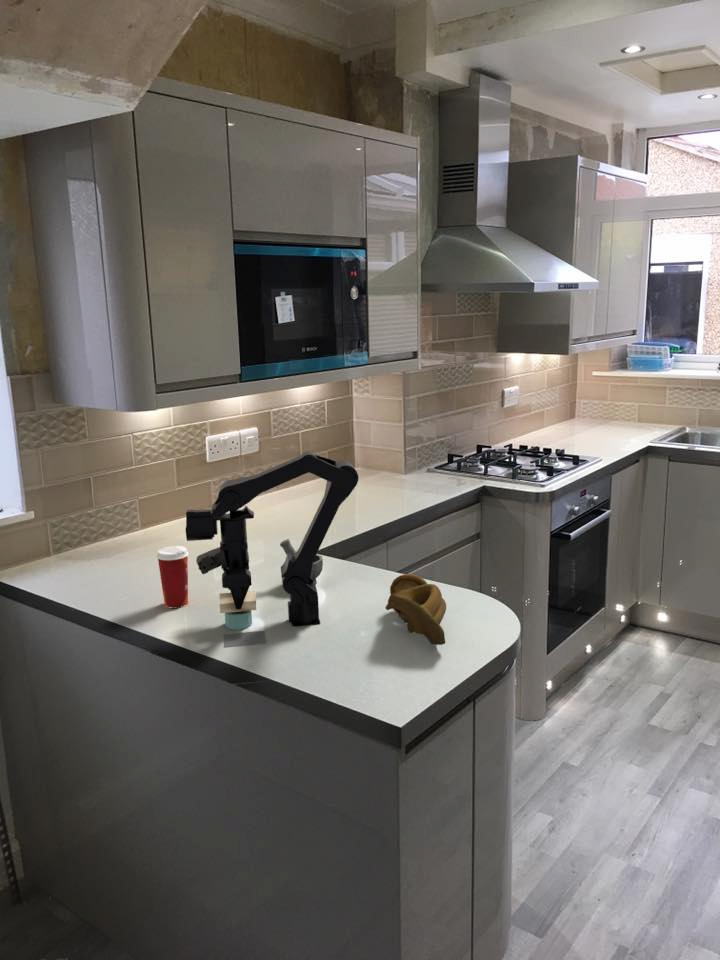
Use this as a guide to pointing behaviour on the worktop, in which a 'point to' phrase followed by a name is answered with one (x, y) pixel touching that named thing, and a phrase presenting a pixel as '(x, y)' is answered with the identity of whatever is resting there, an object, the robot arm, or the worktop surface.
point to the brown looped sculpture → (418, 606)
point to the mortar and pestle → (316, 563)
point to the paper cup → (174, 575)
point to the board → (229, 606)
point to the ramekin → (238, 620)
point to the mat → (244, 639)
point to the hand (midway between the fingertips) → (238, 603)
